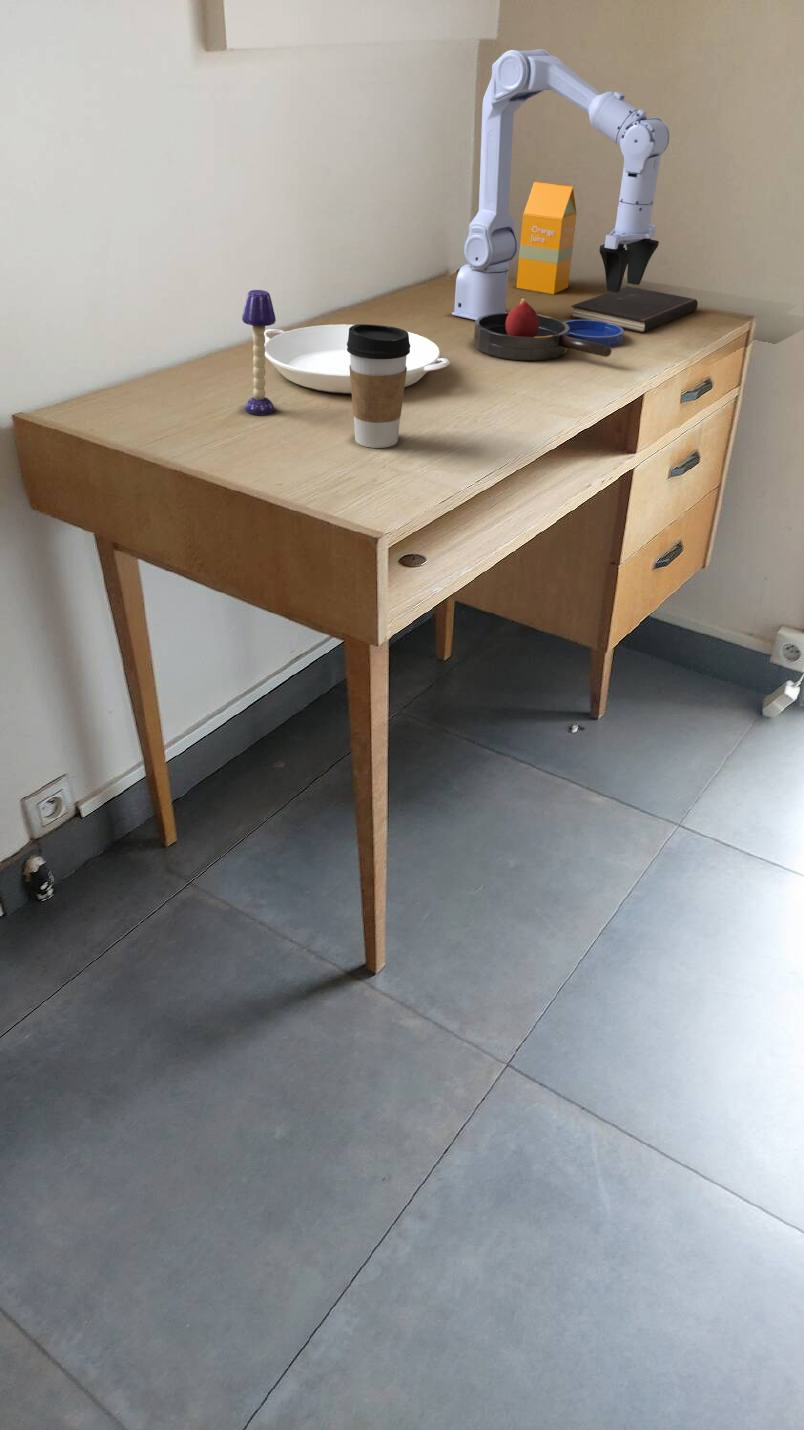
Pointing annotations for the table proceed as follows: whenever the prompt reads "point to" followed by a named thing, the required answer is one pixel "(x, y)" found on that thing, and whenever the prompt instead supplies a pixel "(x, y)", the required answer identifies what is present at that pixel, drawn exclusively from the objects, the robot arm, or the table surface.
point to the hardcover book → (634, 308)
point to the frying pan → (519, 338)
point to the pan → (336, 357)
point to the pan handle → (585, 346)
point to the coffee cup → (377, 382)
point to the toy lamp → (259, 347)
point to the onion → (522, 321)
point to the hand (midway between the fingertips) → (623, 287)
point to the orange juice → (547, 238)
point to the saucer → (596, 332)
